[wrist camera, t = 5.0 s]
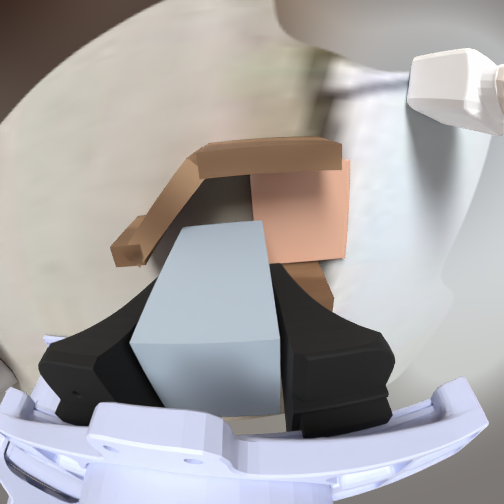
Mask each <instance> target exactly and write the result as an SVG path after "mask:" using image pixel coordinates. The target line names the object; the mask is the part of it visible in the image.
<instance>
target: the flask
mask: <svg viewBox="0 0 504 504" xmlns="http://www.w3.org/2000/svg"><path fill="white" fill-rule="evenodd" d="M17 382H18V381H17V379H16V378H15V376H14V375H13V373H12V371H11V370H10V369H9V368H8V367H7V366H6V365H5V364H4V363H3V362H2V361H1V360H0V395H1V394H2V393H3V392H4V391H6V390H7V389H8V388H9V387H11V386H13V385H14V384H15V383H17Z"/></svg>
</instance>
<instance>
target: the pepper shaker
mask: <svg viewBox="0 0 504 504" xmlns="http://www.w3.org/2000/svg"><path fill="white" fill-rule="evenodd" d="M407 104H408V105H409V106H410V107H411V108H412V109H414V110H415V111H418V112H420V113H422V114H424V115H426V116H428V117H430V118H432V119H434V120H436V121H438V122H440V123H442V124H444V125H450V126H455V127H460V128H465V129H470V130H474V131H479V132H483V133H487V134H491V135H495V136H502V135H503V133H504V64H501V65H499V66H496V65H495V64H494V63H493V62H492V61H491V60H490V59H488V58H487V57H486V56H484V55H483V54H481V53H479V52H478V51H477V50H474V49H468V48H465V49H457V50H450V51H444V52H438V53H432V54H427V55H422V56H418V57H415V58H414V59H413V61H412V64H411V73H410V81H409V88H408V95H407Z"/></svg>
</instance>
